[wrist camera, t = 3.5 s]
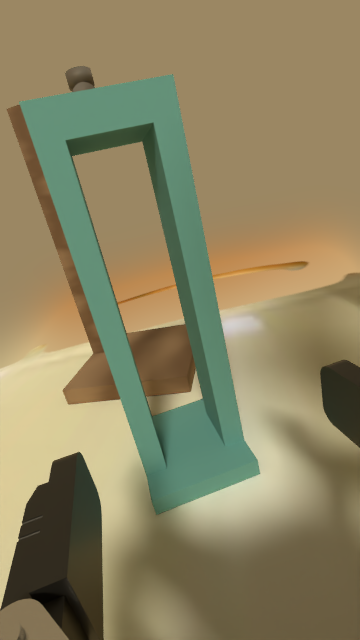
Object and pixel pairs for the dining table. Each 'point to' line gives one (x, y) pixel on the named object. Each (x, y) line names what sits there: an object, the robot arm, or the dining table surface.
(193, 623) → the dining table surface
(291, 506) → the dining table surface
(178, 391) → the hook stand
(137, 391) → the teal loop
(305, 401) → the dining table surface
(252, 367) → the dining table surface
